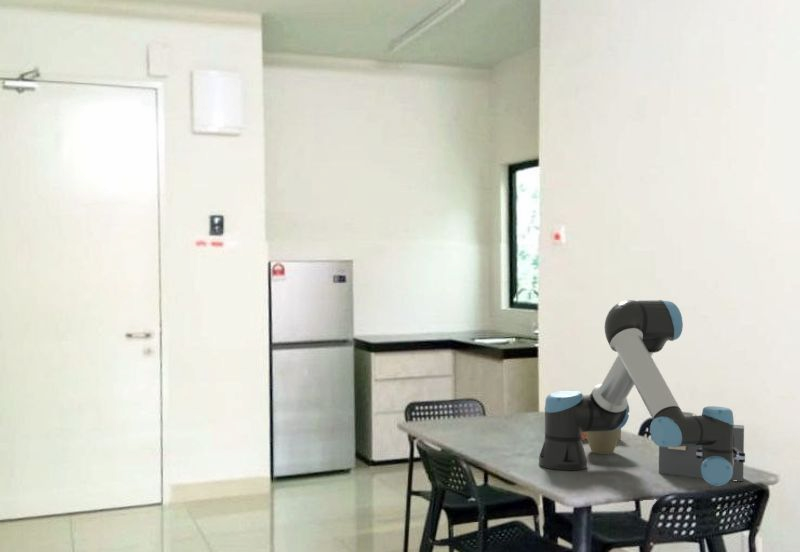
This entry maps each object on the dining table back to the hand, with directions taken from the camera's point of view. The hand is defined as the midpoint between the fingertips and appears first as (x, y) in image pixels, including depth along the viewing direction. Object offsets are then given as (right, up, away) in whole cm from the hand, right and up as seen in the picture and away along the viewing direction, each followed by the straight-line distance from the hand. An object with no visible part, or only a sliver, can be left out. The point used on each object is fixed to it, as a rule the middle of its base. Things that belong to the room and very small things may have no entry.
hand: (723, 445), depth 244 cm
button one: (-11, -3, +8) cm, 14 cm away
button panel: (-3, -11, +9) cm, 15 cm away
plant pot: (-26, -11, +42) cm, 50 cm away
